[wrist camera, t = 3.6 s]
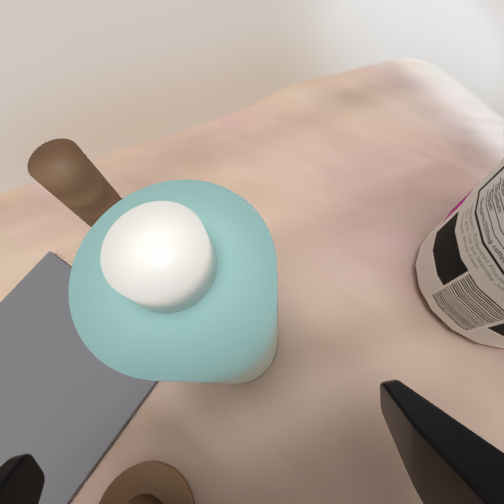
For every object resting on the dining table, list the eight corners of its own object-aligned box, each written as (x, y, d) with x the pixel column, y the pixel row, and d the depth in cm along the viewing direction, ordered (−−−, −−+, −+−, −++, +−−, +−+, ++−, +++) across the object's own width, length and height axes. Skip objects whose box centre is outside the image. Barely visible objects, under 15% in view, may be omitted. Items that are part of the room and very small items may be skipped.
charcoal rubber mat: (31, 555, 16) (26, 559, 16) (-92, 405, 19) (-99, 406, 19) (180, 351, 19) (178, 350, 19) (53, 253, 23) (49, 251, 22)
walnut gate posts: (200, 571, 15) (111, 787, 7) (99, 591, 15) (-110, 833, 7) (167, 205, 24) (107, 108, 15) (101, 218, 24) (6, 128, 15)
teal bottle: (246, 402, 18) (166, 446, 5) (180, 351, 20) (-18, 281, 6) (293, 328, 20) (324, 213, 6) (228, 285, 21) (145, 119, 8)
